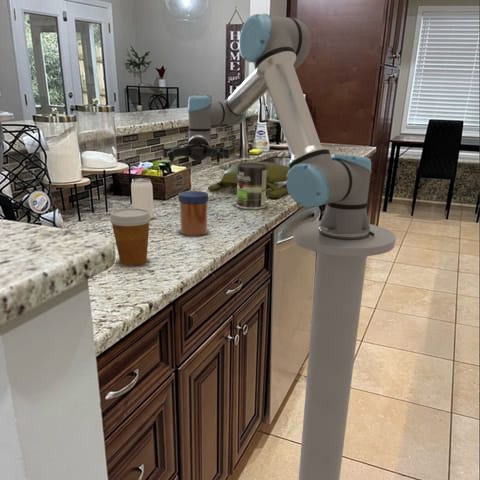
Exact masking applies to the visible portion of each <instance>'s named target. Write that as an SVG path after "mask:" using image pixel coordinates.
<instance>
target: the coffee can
mask: <svg viewBox="0 0 480 480" xmlns="http://www.w3.org/2000/svg"><path fill="white" fill-rule="evenodd" d="M236 165H237V168H238V170H237V187H236V207H237V208H239V209H243V210H262V209H264V208H266V196H267V189H266V175H267V165H264V164H258V163H249V162H243V163H239V164H236Z"/></svg>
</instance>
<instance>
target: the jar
mask: <svg viewBox="0 0 480 480" xmlns="http://www.w3.org/2000/svg"><path fill="white" fill-rule="evenodd" d="M179 215H180V216H179V217H180V234H182V235H184V236H188V237H198V236H205V235H206V234H208V201H207V202H205V203H200V204H187V203H182V202H179Z"/></svg>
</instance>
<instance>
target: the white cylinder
mask: <svg viewBox="0 0 480 480" xmlns="http://www.w3.org/2000/svg"><path fill="white" fill-rule="evenodd" d="M130 184H131V185H130V191H131V208H140V209H145V210H147V211H149V215H150V216H151V219H150V220H152V219H153V218H154V216H155V210H154V193H153V184H152V181H151V179H150V178H148V177H147V178H146V177H137V178H132V180H131V183H130Z"/></svg>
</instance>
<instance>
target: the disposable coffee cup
mask: <svg viewBox="0 0 480 480" xmlns="http://www.w3.org/2000/svg"><path fill="white" fill-rule="evenodd" d="M108 219H109V221H110V223H111V226H112V231H113V235H114V240H115V244H116V248H117V249H116V250H117V254H118V258H119V263H120V264H121V265H124V266H128V267H129V266H131V267H132V266H133V267H134V266H141V265H143V264H146V263H147V261H148V246H149V233H150V222H151V220H152V219H151V216H150V215H149V211H147V210H145V209H140V208H133V207H127V208H125V207H124V208H119V209H115V210H112V211H111V212H110V216H109V218H108Z"/></svg>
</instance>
